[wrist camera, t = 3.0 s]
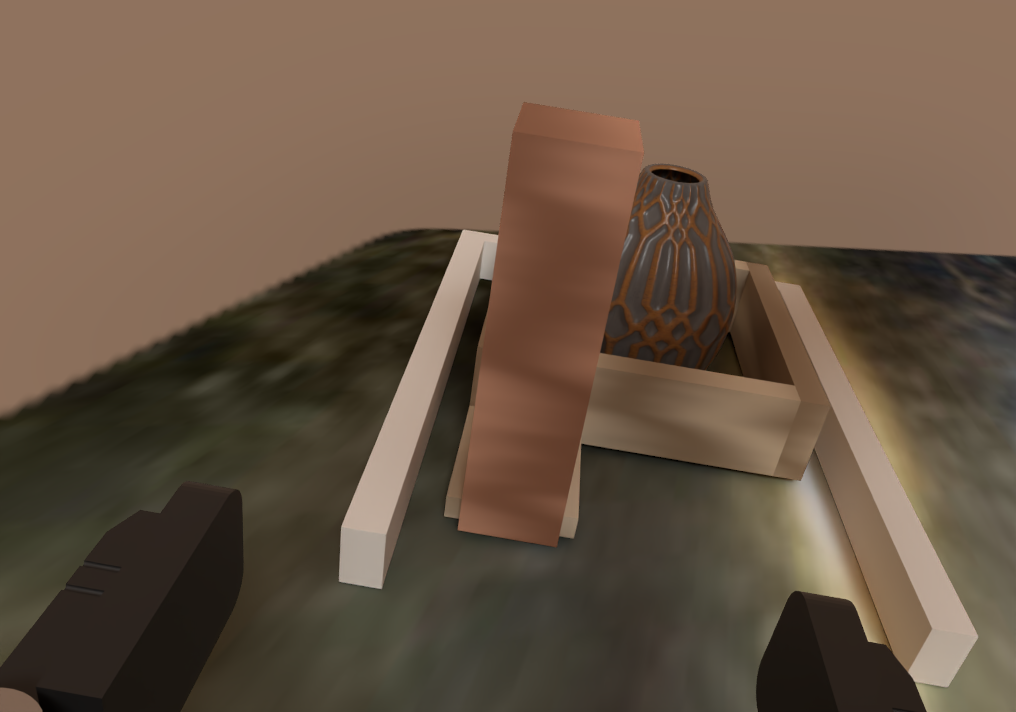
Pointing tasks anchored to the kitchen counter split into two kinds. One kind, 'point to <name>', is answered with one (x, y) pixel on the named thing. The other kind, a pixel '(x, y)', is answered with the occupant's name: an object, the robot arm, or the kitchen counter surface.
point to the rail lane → (840, 448)
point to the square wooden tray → (577, 343)
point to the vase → (672, 274)
